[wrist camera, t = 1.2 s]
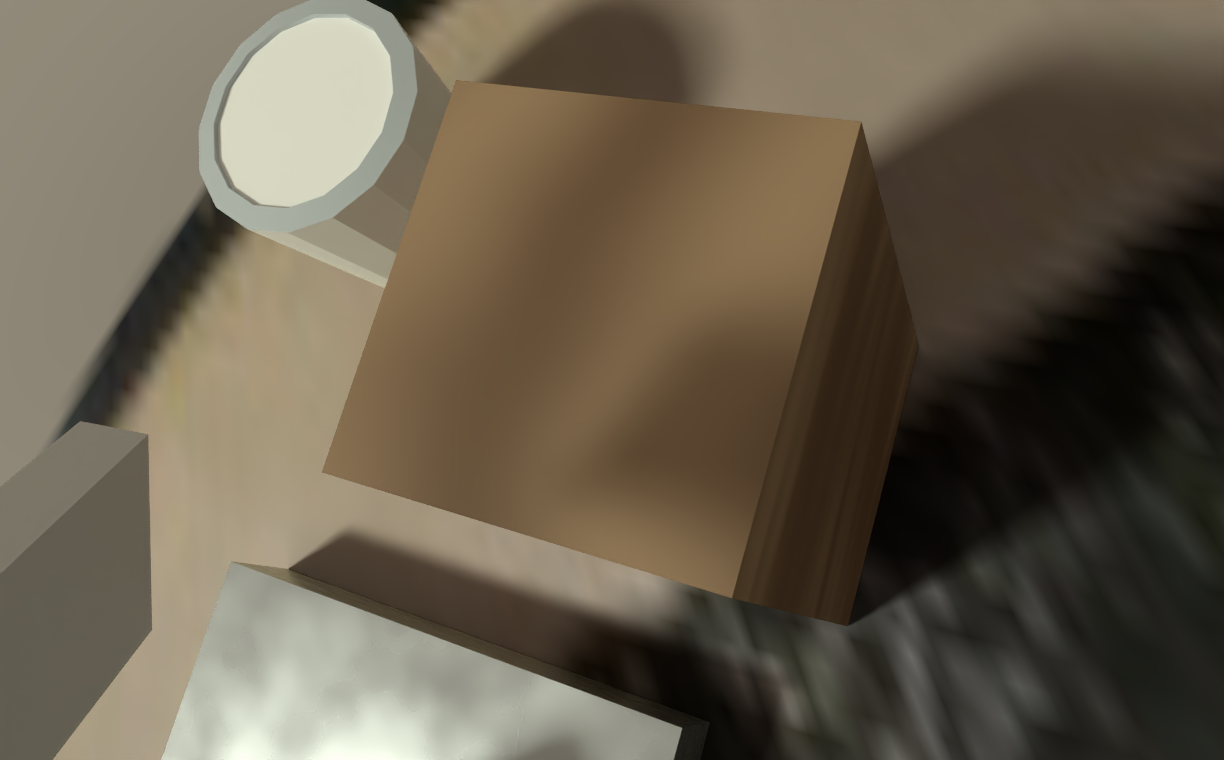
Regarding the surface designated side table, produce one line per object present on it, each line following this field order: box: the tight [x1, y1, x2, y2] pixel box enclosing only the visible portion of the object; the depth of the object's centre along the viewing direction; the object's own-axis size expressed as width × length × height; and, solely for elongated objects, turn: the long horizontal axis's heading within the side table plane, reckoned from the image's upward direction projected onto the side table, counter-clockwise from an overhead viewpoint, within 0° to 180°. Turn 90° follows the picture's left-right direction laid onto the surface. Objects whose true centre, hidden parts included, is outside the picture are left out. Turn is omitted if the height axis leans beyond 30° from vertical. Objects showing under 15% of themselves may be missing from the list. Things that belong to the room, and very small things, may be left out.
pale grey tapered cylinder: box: [199, 0, 452, 288], centre depth 30 cm, size 7×7×7 cm
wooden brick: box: [322, 80, 919, 626], centre depth 22 cm, size 7×7×12 cm
